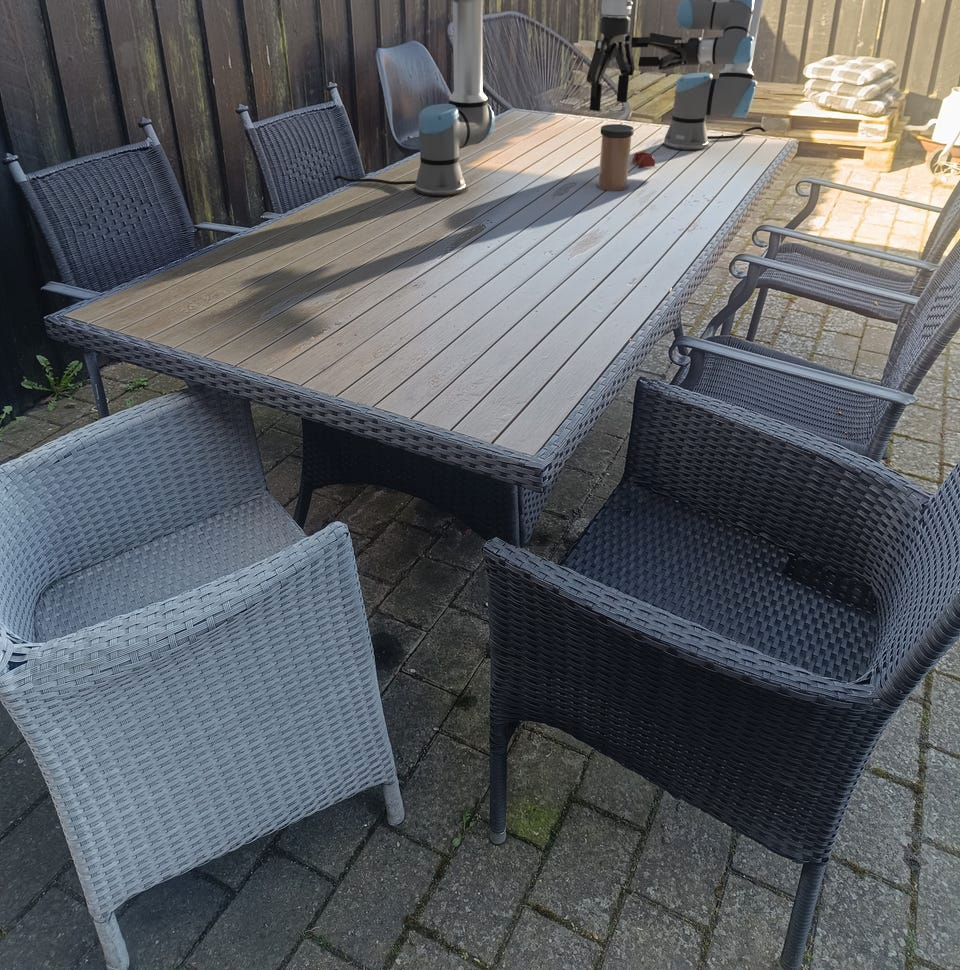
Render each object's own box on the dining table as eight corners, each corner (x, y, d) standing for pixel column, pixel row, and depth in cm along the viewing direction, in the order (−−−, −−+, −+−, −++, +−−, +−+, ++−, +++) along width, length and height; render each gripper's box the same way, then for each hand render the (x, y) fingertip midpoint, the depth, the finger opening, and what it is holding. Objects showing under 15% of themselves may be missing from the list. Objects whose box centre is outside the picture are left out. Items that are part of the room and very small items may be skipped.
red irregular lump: (647, 147, 282) (657, 154, 276) (646, 160, 284) (656, 167, 278) (631, 149, 281) (641, 155, 275) (630, 162, 283) (640, 169, 277)
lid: (603, 138, 248) (603, 132, 247) (598, 130, 256) (598, 124, 255) (636, 137, 248) (636, 131, 247) (629, 129, 256) (630, 123, 255)
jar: (600, 190, 258) (605, 133, 248) (596, 182, 265) (600, 126, 255) (628, 190, 258) (634, 132, 248) (623, 182, 265) (628, 125, 255)
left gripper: (602, 22, 204) (595, 116, 216) (653, 12, 219) (644, 100, 232) (576, 19, 207) (570, 112, 220) (628, 10, 223) (620, 96, 236)
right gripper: (691, 45, 247) (621, 46, 256) (705, 80, 270) (641, 80, 279) (695, 18, 247) (626, 21, 255) (709, 56, 269) (645, 57, 278)
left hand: (608, 106), depth 226 cm, fingers open, 13 cm apart
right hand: (633, 52), depth 267 cm, fingers open, 13 cm apart
